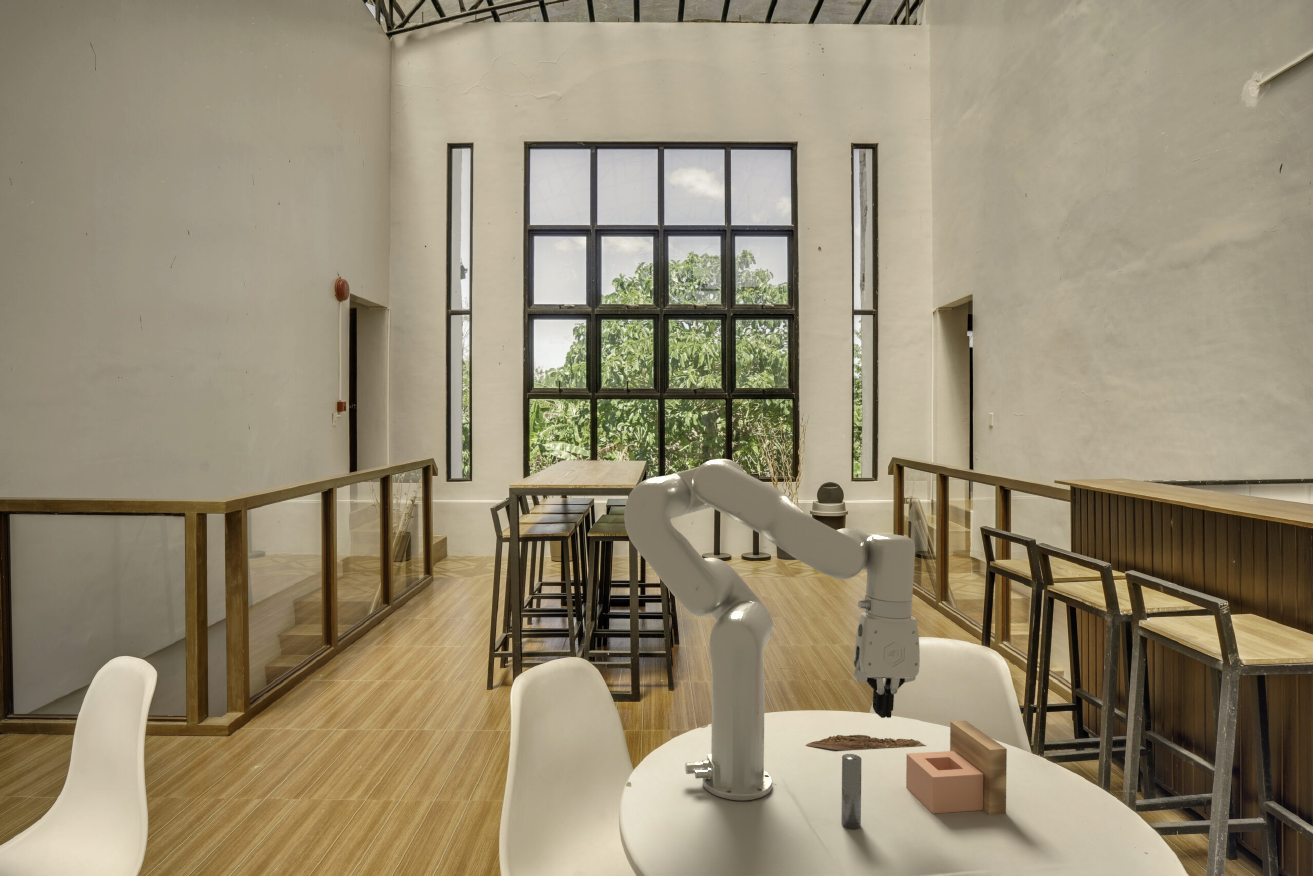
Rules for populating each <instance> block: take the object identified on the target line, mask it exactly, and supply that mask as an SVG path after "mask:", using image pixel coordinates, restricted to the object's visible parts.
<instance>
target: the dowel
mask: <svg viewBox="0 0 1313 876" xmlns="http://www.w3.org/2000/svg"><path fill="white" fill-rule="evenodd" d="M841 758H842V759H841V822H840V823H841V826H842V827H843V828H845V829H847V830H850V831H857V830H859V829H861V827H862V757H861V756H859V755H858V754H854V753H845V754H843V755H842V756H841Z"/></svg>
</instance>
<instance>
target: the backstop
mask: <svg viewBox="0 0 1313 876" xmlns="http://www.w3.org/2000/svg"><path fill="white" fill-rule="evenodd" d="M949 723H950V727H949V728H950V729H949V731H950V733H949V738H950V739H949V751H954V752H956V753H957V754H958V755H960V756H961V757H962V758H963V759H965V760H966V761H967V762H968V763H970V764H971V765H972V766H974V767H975V768H976V769H977V770H979V771H980V772H981V773H983V810H982V811H984V812H985V813H986V814H988V815H989V816H991V815H992V816H993V815H1005V814H1007V767H1008V765H1007V764H1008V763H1007V760H1008V757H1007V755H1008V754H1007V753H1008V749H1007V747H1005V746H1003V745H1002V744H1000V743H999V742H997V741H996V740H994V738H992V737H990V736H989V735H987V734H986V733H984V732H983V731H981V730H980V729H979V728H977V727H976V726H975V725H973V724H972V723H970V722H968V721H967V720H953V721H950V722H949Z"/></svg>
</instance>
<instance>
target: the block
mask: <svg viewBox="0 0 1313 876" xmlns="http://www.w3.org/2000/svg"><path fill="white" fill-rule="evenodd" d="M905 774H906V775H905V779H906V780H905V786H906V787H905V788H906V789H907V790H908V791H909V792H910V794H912V795H913V796H914V797H915V798H916V799H918V801H919V802H921V804H923V806H924V807H925V808H927V810H928V811H929V812H931V814H944V813H945V814H946V813H960V812H972V811H973V812H974V811H984V810H983V773H981V772H980V771H979V770H977V769H976V768H975V767H974V766H972V765H971V764H970V763H968V762H967V761H966V760H965V759H963V758H962V757H961V756H960V755H958V754H957V753H956V752H954V751H950V750H949V751H948V750H947V751H932V752H931V751H929V752H913V753H912V752H911V753H906V772H905Z"/></svg>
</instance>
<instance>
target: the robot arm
mask: <svg viewBox="0 0 1313 876" xmlns="http://www.w3.org/2000/svg"><path fill="white" fill-rule="evenodd" d="M710 508H712V509H714V510H715V511H717V512H719V513H721V514H723V515H724V516H727V517H729V518H730V519H733V520H734V521H736V522H738V523H740V524H742V525H744V526H746V527H748V529H751V530H753V531H754V532H756V533H758V534H760V535H761V536H763V537H764V538H765V539H766V540H768V541H769V542H771V543H772V544H774V545H775V546H777V547H778V548H779V549H781V550H782V551H783V552H786V553H787V555H789V556H791V557H792V558H795V559H796V560H798V561H799V562H801V563H804V564H805V565H807V566H809V567H811V568H812V569H814V570H816V571H818V572H820V573H822V574H824V575H826V576H827V577H830V578H833V579H836V580H848V579H851V578H854V577H856V576H858V575H859V573H861V571H865V572H866V589H865V595H864V599H863V600H858V602H857V605H858V608H859V609H862V610H863V611H864V612H861V615H860V618H859V621H858V625H857V631H856V635H855V641H854V650H853V651H854V652H853V665H854V668H855V669H854V673H853V678H854V679H855V680H856V681H858V682H860V683H865V684H868V685H869V686H870V688H871V689H872V690H873V692H872V708H873V710H874V711H873V712H875V714H877V716H878V717H880V718H881V719H885V718H887V719H891V718H892V712H893V711H894V706H895V705H894V701H895V700H894V699H895V695H896V694H897V693H898V691H899V689H900V688H901V687H902V686H903V685H904V684H905V683H909V682H915V680H916V678H917V676H918V675H919V673H920V664H921V661H920V660H921V658H920V654H921V653H920V650H921V649H920V636H919V628H918V621H917V618H916V617H915V616H912V614H913V613H912V612H913V611H912V610H913V591H914V573H915V572H914V571H915V557H916V545H915V542H914V540H913V539H912V538H911V537H908V536H905V535H900V534H894V533H879V534H877V533H873V532H872V533H871V532H867V531H863V530H858V529H854V528H845V527H843V528H840V529H839V528H838V529H835V528H832V527H831V526H829V525H827V524H825V523H823V522H821V521H820V520H817V519H815V518H814V517H812V516H811V515H809V514H807V513H806V512H805V511H803V510H802V509H800V508H799V506H797V505H796V504H795V503H794V502H793V500H792V498H790V497H789V495H788V494H786V493H785V492H783V491H782V490H780V489H778V488H776V487H774V486H772V485H770V484H767V483H766V482H764V481H762V480H760V479H758V478H756V477H754V476H752V475H751V474H749V473H747V472H745V471H744V469H743V467H742V466H741V465H739V464H738V463H737V462H735V461H734V460H731V459H727V458H719V459H710V460H707V461H705V462H703V463H702V464H700V465H699V466H697V467H694V468H690V469H686V470H682V471H678V472H675V473H671V474H667V475H661V476H654V477H651V478H647V479H645V480H643V481H641V482H639V483H638V484H637V485H635V487H634V488H633V489H632V491H631V492H630V493H629V495H628V497H627V500H626V503H625V506H624V513H623V514H624V515H623V516H624V517H623V521H624V526H625V530H626V534H627V536H628V538H629V540H630V542H631V544H632V545H633V546H634V548H635V549H636V551H638V553H639V554H640V556H641V557H642V558H643V559H644V560H645V561H646V562H647V564H648V565H649V566H650V567H651V568H652V570H653V571H654V573H656V575H657V576H658V578H659V579H660V581H662V583H663V584H664V585H665V586H666V588H667V589H668V590H669V591H670V592H671V594H672V595H673V596H674V597H675V599H676V600H677V602H678V603H679V604H680V605H681V606H682V608H684V610H685V611H687V612H688V613H689V614H691V615H693V616H696V617H706V616H708V615H709V616H710V615H711V617H713V619H714V620H715V623H714V625H713V627H712V629H711V632H710V636H709V642H708V643H709V646H708V647H709V657H710V658H709V659H710V666H711V667H710V668H711V751H710V753H707V755H706V759H703V760H701V761H699V762H696V761H694V762H693V761H690V762H685V764H684V765H685V766H684V769H685V773H686V775H692V774H694V778H695V779H697V780H698V779H702V785H703V787H704V788H705V789H706V790H707V792H709V793H711V794H712V795H714V796H716V797H719V798H722V799H726V800H729V801H752V800H757V799H760V798H763V797H764V796H767V795H768V794H769V793H770V792H771V791H772V789H773V778H772V776H771V775H770V774H769V772H767V771H766V770H765V701H766V700H765V699H766V698H765V672H764V671H765V670H764V650H765V647H766V646H767V644H768V643H769V641H770V639H771V638H772V635H773V631H774V621H773V618H772V615H771V612H770V611H769V609H768V608H767V606H765V604H764V603H763V601H762V600H761V599H760V598H759V597H758V596H757V595H756V593H755V592H754V591H753V590H752V589H751V587H750V586H749V585H748V584H747V583H746V582H745V580H743V578H742V577H741V576H740V574H739V573H738V572H737V571H736V570H735V569H734V568H733V567H732V566H731V565H730V564H728V562H726V561H724V560H722V559H720V558H716V557H704V558H703V556H702V554H701V555H700V553H699V552H698V551H697V550H696V549H695V548H694V546H693V545H692V544H691V542H690V541H689V539H687V538H686V536H684V535H683V534H682V533H681V532H679V531H678V530H677V529H676V528H675V526H673V524H672V521H671V520H672V519H676V518H678V517H681V516H685V515H688V514H691V513H696V512H699V511H702V510H706V509H710Z"/></svg>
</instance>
